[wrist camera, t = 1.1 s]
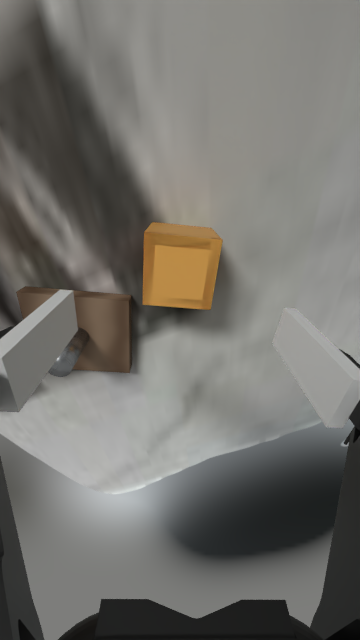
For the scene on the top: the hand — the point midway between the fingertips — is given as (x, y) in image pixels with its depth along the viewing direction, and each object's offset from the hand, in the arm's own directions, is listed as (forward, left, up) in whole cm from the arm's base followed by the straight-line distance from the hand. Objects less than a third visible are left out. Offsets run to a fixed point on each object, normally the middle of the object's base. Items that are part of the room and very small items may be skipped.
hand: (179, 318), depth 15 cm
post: (+13, +12, -15) cm, 23 cm away
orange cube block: (0, 0, -17) cm, 17 cm away
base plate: (+13, +12, -17) cm, 24 cm away
